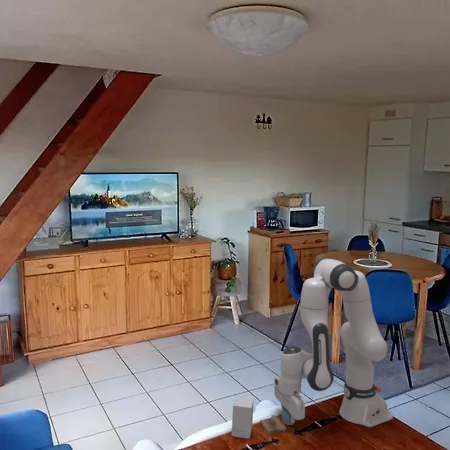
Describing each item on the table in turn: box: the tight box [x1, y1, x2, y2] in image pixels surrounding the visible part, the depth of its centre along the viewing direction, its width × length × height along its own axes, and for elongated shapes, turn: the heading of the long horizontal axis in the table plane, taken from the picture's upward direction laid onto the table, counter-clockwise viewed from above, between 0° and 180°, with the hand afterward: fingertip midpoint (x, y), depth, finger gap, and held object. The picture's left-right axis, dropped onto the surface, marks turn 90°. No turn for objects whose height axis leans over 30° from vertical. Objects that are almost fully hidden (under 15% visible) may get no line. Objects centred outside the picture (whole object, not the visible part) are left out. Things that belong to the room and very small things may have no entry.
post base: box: [259, 414, 288, 435], centre depth 181 cm, size 8×8×4 cm
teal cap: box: [280, 408, 295, 426], centre depth 185 cm, size 5×5×5 cm
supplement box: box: [231, 396, 255, 439], centre depth 176 cm, size 7×7×13 cm
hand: (288, 418), depth 185 cm, fingers closed on teal cap, 5 cm apart
